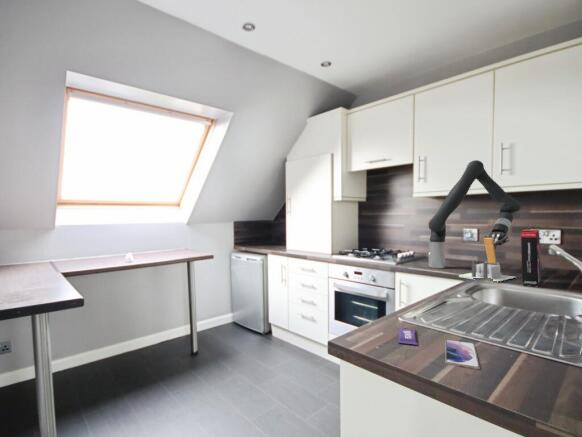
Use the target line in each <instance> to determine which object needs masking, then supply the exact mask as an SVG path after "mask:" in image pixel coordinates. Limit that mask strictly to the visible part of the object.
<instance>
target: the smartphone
mask: <svg viewBox="0 0 582 437" xmlns="http://www.w3.org/2000/svg"><path fill="white" fill-rule="evenodd" d="M475 345H476V344H474V343H472V342H465V341H460V340H459V341H458V340H452V339H451V340H450V339H446V340H445V364H447V365H451V366H455V367H464V368H466V369H472V370H480V369H481V366H480V362H479V357H478V353H477V348H476V346H475Z"/></svg>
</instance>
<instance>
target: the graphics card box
mask: <svg viewBox="0 0 582 437" xmlns="http://www.w3.org/2000/svg"><path fill="white" fill-rule="evenodd" d="M540 242H541V239H540V230H539V229H529V228H527V229H525V228H524V229H523V230H520V247H521V249H520V250H521V274H522V275H521V285H522V284H523V285H531V286H530V287H532V286H538V287H539V286H540V284H541V280H542V279H541V278H542V276H541V274H542V273H541V243H540ZM523 285H522V286H523Z"/></svg>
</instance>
